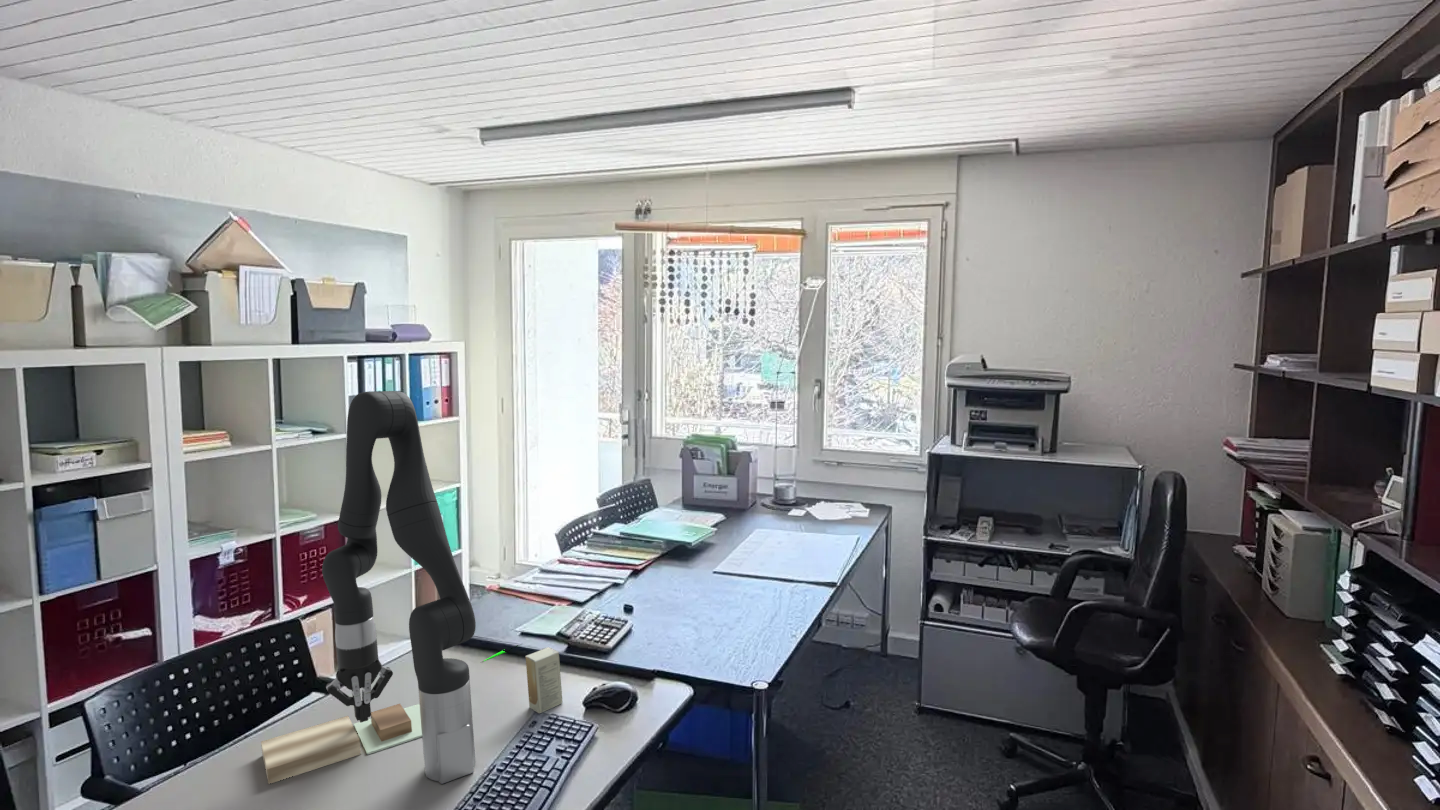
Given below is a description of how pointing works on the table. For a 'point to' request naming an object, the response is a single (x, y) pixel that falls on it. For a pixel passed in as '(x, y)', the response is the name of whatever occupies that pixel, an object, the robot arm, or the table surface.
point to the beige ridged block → (309, 749)
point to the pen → (495, 655)
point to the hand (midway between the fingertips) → (363, 719)
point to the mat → (374, 743)
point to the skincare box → (544, 679)
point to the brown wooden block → (391, 722)
